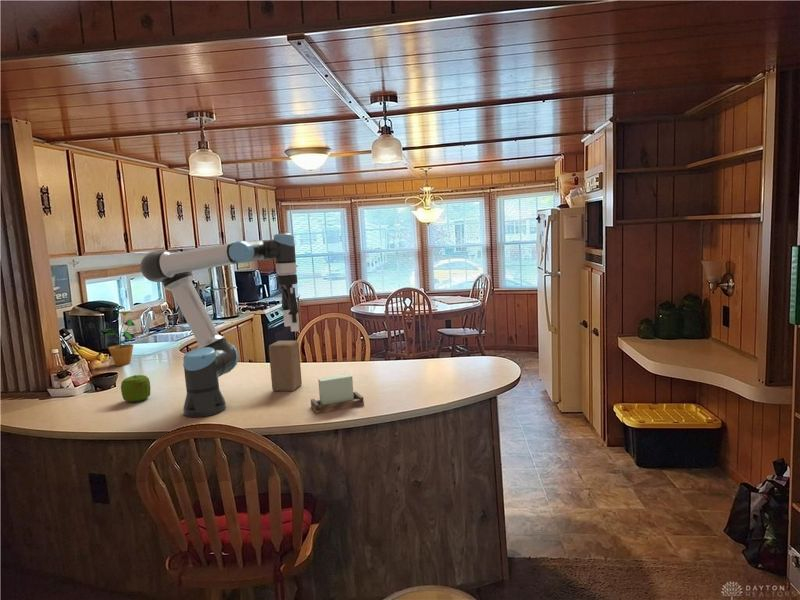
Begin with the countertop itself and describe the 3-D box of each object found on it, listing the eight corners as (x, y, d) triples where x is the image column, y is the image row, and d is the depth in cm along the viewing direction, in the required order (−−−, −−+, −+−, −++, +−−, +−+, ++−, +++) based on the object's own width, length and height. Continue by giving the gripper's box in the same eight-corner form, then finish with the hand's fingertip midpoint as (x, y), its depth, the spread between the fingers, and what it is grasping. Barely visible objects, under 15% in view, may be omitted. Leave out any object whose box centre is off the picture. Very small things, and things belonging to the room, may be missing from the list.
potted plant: (148, 361, 297) (142, 308, 293) (116, 369, 281) (109, 313, 277) (129, 359, 306) (123, 307, 302) (97, 366, 290) (90, 312, 286)
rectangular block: (322, 407, 195) (320, 381, 194) (320, 404, 199) (318, 378, 197) (353, 402, 199) (352, 376, 198) (350, 399, 203) (349, 373, 202)
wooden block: (293, 391, 221) (289, 344, 219) (271, 391, 223) (267, 345, 221) (302, 384, 231) (299, 339, 228) (281, 384, 233) (277, 340, 230)
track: (316, 413, 192) (316, 405, 191) (311, 406, 200) (310, 399, 199) (364, 405, 198) (363, 397, 198) (356, 398, 207) (356, 391, 206)
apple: (124, 398, 225) (121, 373, 223) (152, 394, 228) (149, 370, 227) (121, 406, 214) (117, 379, 213) (150, 401, 218) (147, 376, 217)
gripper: (303, 274, 193) (308, 332, 196) (290, 272, 216) (294, 323, 219) (282, 276, 190) (287, 334, 193) (271, 273, 213) (276, 325, 216)
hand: (291, 328), depth 206 cm, fingers open, 13 cm apart
